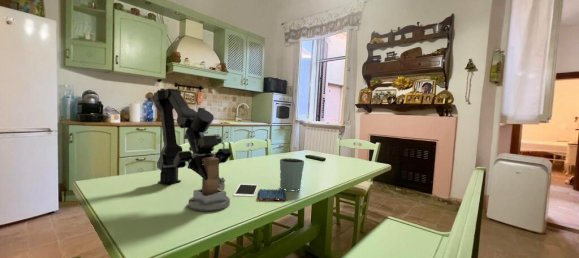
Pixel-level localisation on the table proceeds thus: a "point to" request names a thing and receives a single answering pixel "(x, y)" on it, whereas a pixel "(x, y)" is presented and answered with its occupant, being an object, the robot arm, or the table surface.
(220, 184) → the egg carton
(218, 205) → the rosette socket
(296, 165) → the grey cup
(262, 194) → the woven mat
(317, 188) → the table surface
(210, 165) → the brown wooden square peg
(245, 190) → the cell phone
